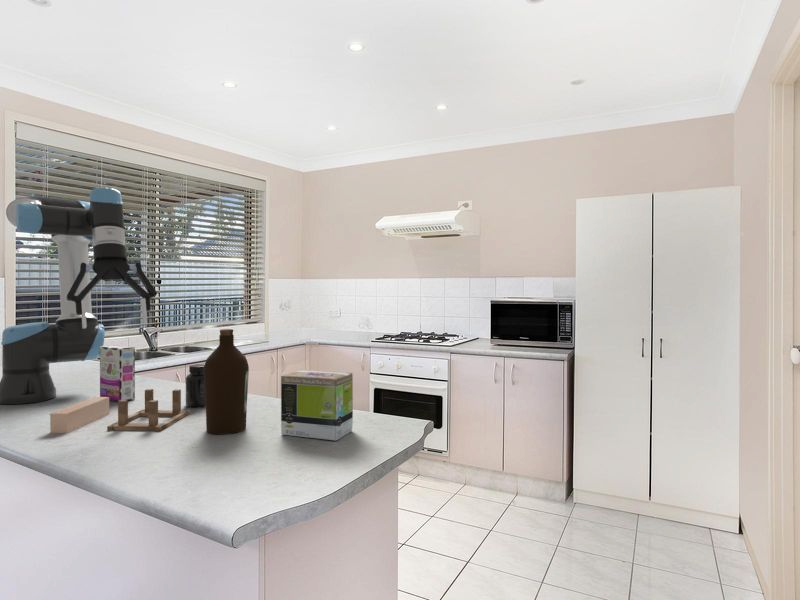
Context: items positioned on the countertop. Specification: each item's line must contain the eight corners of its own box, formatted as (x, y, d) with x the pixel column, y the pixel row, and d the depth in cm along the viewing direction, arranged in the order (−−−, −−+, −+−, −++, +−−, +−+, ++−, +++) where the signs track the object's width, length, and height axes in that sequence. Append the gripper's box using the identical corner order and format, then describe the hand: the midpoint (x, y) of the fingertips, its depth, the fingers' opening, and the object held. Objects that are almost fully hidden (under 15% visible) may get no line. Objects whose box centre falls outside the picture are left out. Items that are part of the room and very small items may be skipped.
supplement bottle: (180, 406, 149) (180, 366, 149) (197, 401, 156) (197, 362, 155) (198, 409, 147) (198, 367, 146) (215, 404, 153) (215, 364, 153)
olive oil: (207, 437, 120) (207, 332, 119) (200, 426, 129) (200, 328, 128) (253, 431, 125) (253, 330, 124) (243, 421, 134) (243, 327, 134)
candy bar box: (136, 399, 158) (135, 347, 157) (120, 402, 154) (120, 348, 153) (114, 395, 163) (114, 344, 163) (99, 398, 159) (98, 346, 159)
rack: (142, 412, 142) (142, 388, 142) (189, 413, 142) (189, 388, 142) (107, 430, 125) (107, 402, 125) (160, 431, 125) (160, 402, 125)
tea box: (353, 430, 127) (354, 372, 127) (335, 442, 118) (336, 379, 117) (300, 424, 132) (301, 368, 132) (279, 435, 123) (279, 374, 122)
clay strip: (94, 414, 140) (94, 396, 140) (109, 415, 140) (109, 397, 140) (50, 434, 122) (50, 413, 122) (67, 434, 123) (66, 413, 122)
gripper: (52, 240, 123) (57, 326, 120) (163, 242, 138) (170, 319, 134) (52, 249, 129) (56, 331, 126) (158, 250, 144) (165, 324, 140)
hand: (115, 325), depth 130 cm, fingers open, 13 cm apart
